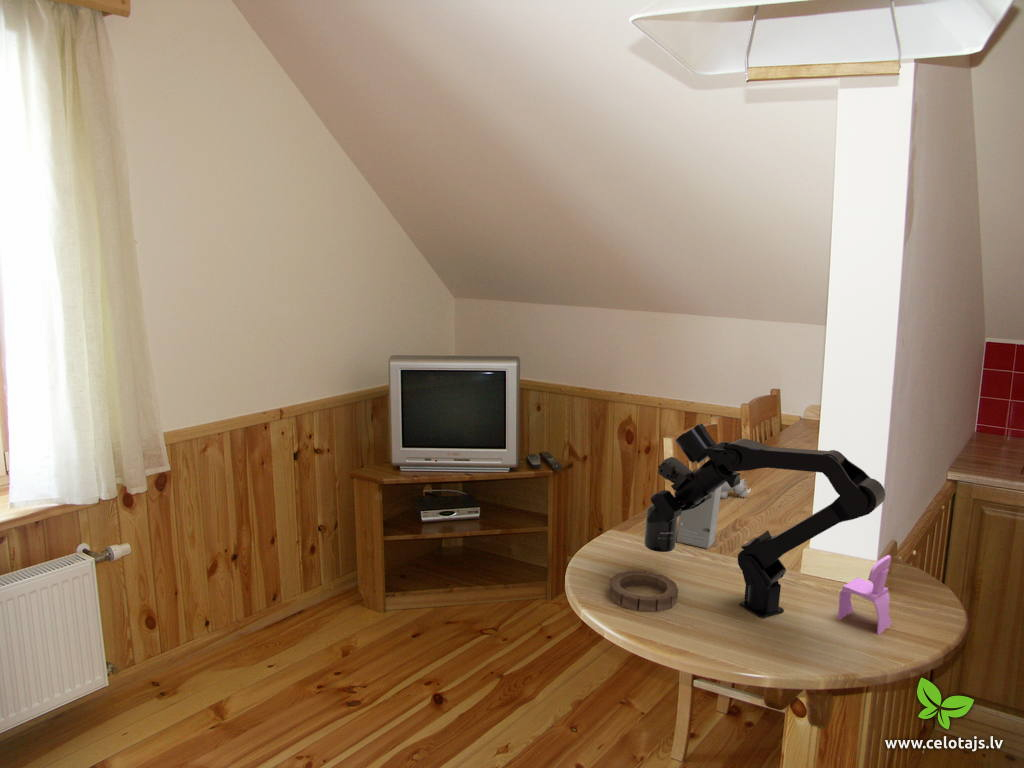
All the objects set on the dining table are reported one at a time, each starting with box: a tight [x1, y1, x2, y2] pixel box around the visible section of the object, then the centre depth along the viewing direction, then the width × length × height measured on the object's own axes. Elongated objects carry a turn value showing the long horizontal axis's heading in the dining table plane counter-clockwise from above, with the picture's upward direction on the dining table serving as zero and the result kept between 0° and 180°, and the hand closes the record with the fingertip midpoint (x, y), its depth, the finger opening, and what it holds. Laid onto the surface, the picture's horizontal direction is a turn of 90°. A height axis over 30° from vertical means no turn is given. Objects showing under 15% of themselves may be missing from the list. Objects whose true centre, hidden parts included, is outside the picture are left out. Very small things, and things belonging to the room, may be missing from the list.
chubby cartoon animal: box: [720, 478, 751, 500], centre depth 239 cm, size 7×12×8 cm, turn 86°
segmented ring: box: [608, 570, 679, 613], centre depth 174 cm, size 14×14×2 cm
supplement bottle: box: [643, 492, 679, 553], centre depth 182 cm, size 7×7×12 cm
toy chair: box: [837, 554, 893, 636], centre depth 164 cm, size 8×9×15 cm
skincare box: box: [676, 486, 722, 549], centre depth 203 cm, size 8×7×16 cm
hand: (656, 517), depth 183 cm, fingers closed on supplement bottle, 7 cm apart
